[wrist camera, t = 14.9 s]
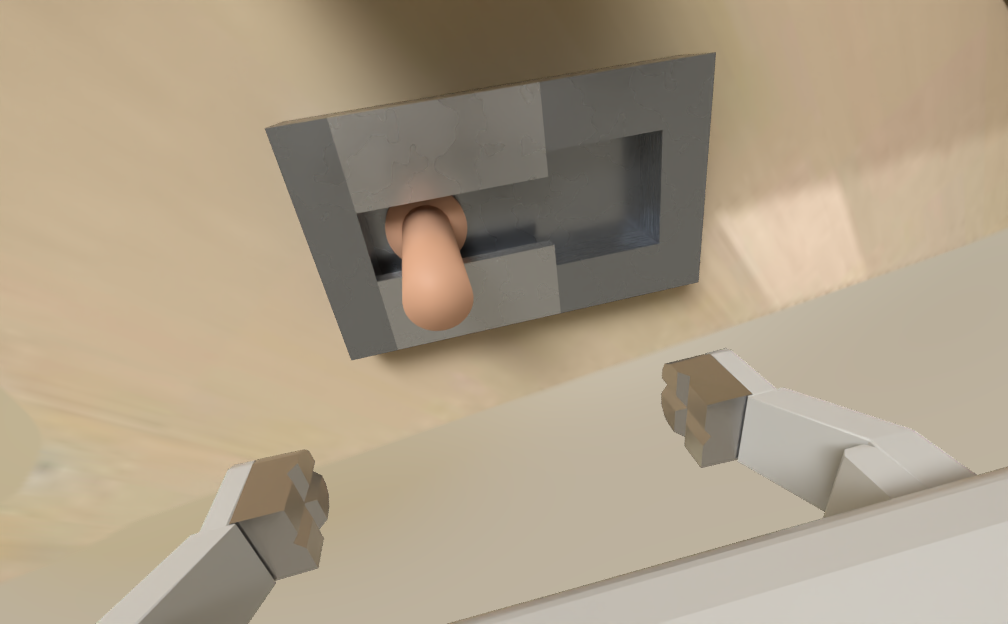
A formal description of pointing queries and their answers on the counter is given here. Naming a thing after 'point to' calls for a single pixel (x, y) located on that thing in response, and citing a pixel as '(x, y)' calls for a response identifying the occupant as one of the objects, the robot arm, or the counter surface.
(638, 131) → the keyhole board
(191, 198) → the counter surface
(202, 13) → the counter surface
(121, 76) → the counter surface
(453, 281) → the peg
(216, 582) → the robot arm
